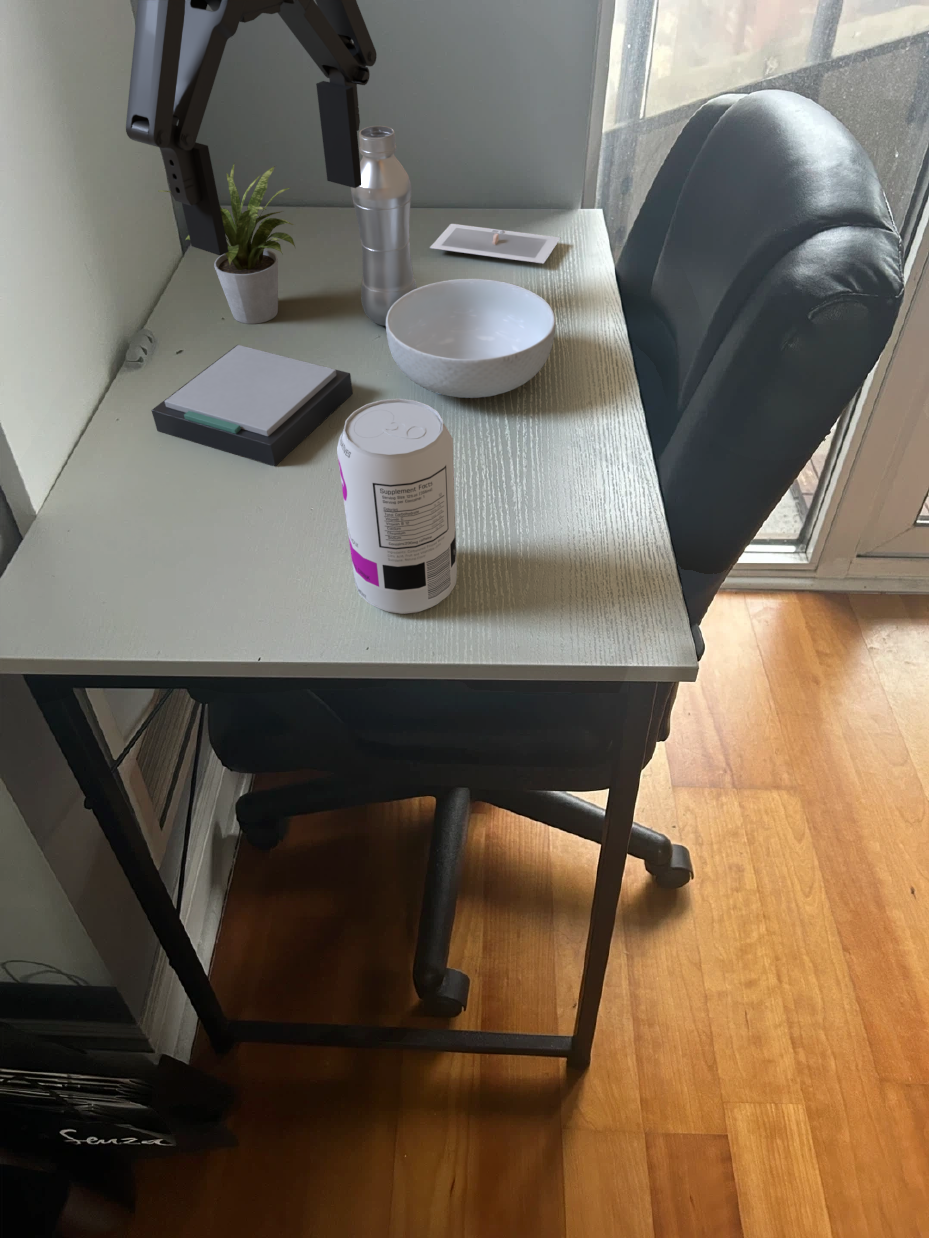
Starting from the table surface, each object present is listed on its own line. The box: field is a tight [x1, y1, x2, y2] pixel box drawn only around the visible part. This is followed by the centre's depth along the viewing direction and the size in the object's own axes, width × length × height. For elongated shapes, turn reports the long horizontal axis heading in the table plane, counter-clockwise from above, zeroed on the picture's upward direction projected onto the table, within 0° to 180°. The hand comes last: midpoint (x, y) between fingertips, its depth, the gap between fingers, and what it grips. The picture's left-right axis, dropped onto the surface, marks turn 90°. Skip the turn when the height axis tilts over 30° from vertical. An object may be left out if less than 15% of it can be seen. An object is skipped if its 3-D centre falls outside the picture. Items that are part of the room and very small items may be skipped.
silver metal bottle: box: [350, 125, 418, 327], centre depth 101 cm, size 6×7×20 cm
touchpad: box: [429, 223, 562, 265], centre depth 120 cm, size 8×15×2 cm, turn 70°
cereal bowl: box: [385, 278, 557, 399], centre depth 96 cm, size 17×17×7 cm
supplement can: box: [336, 398, 458, 615], centre depth 71 cm, size 8×8×15 cm
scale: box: [151, 344, 354, 467], centre depth 94 cm, size 14×14×3 cm
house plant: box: [159, 163, 296, 325], centre depth 103 cm, size 14×14×16 cm
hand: (281, 214), depth 66 cm, fingers open, 13 cm apart
